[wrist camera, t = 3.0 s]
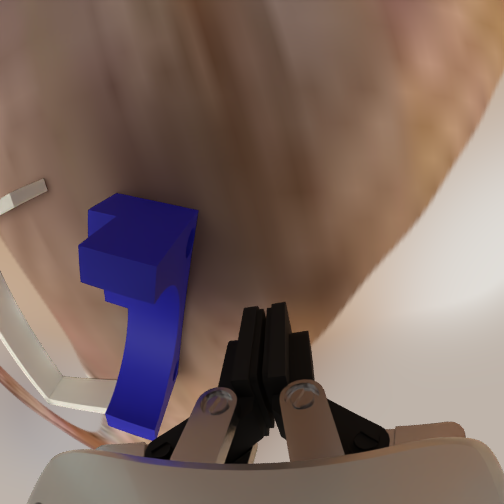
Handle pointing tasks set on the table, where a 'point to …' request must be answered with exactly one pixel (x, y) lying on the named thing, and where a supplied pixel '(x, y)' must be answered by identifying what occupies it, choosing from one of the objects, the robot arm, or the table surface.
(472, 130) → the table surface
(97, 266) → the cable clip
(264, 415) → the robot arm
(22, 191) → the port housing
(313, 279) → the table surface
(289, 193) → the table surface
